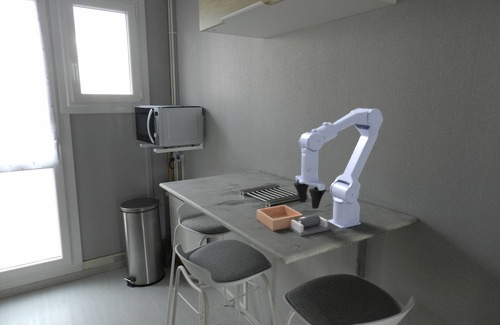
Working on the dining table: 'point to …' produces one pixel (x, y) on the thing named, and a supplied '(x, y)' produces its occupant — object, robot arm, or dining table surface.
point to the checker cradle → (310, 230)
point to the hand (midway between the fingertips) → (308, 204)
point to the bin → (277, 217)
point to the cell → (309, 220)
